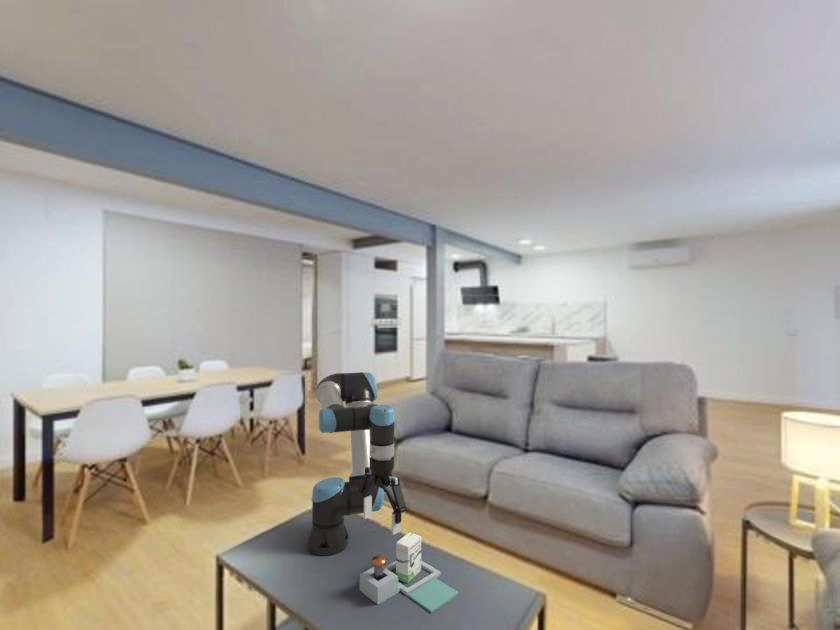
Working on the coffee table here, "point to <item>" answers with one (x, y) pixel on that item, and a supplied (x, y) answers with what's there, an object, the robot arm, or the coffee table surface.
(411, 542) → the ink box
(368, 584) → the housing
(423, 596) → the mat
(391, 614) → the coffee table surface
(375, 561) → the plunger
